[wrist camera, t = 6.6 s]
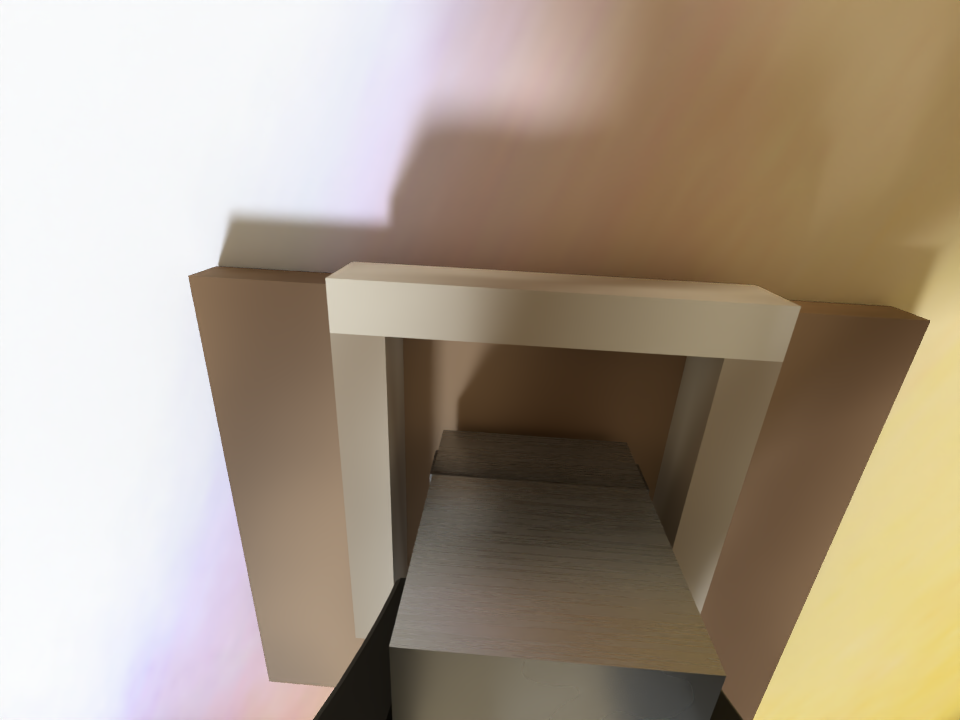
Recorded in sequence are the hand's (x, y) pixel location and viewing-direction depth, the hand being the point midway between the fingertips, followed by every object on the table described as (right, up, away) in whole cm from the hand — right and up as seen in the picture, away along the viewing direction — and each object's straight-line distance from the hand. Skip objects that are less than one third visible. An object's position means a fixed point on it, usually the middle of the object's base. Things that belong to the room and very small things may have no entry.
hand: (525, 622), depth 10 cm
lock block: (0, +1, +2) cm, 2 cm away
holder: (0, +1, +3) cm, 3 cm away
